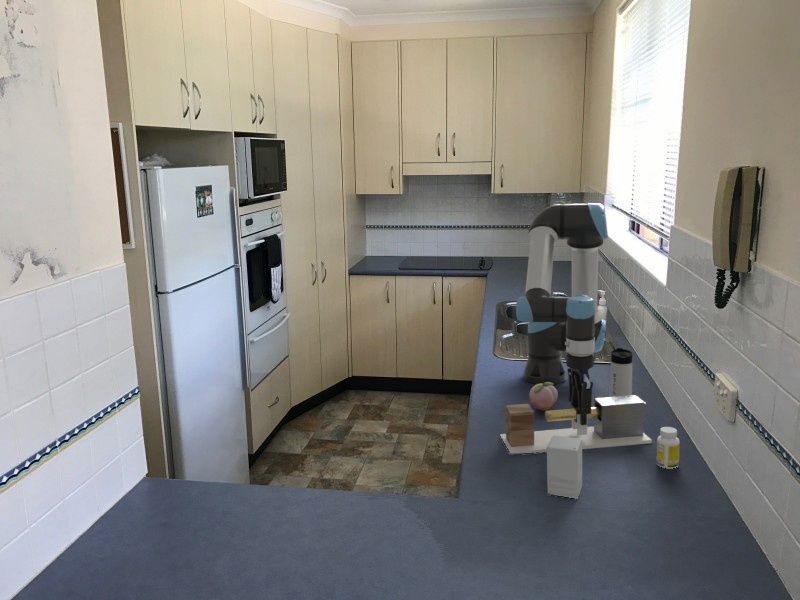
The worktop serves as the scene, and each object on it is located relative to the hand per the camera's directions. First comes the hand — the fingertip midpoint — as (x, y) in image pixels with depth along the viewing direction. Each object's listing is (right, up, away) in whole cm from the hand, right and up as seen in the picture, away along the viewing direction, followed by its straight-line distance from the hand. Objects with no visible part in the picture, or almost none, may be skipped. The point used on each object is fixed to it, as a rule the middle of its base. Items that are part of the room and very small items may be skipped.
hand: (579, 431), depth 185 cm
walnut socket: (-17, -4, -1) cm, 17 cm away
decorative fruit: (-5, +2, +23) cm, 23 cm away
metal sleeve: (+12, -1, +1) cm, 12 cm away
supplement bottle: (+18, -6, -17) cm, 25 cm away
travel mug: (+18, +2, +19) cm, 26 cm away
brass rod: (+3, +4, 0) cm, 5 cm away
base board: (-1, -3, 0) cm, 3 cm away
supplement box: (-11, -9, -27) cm, 30 cm away
